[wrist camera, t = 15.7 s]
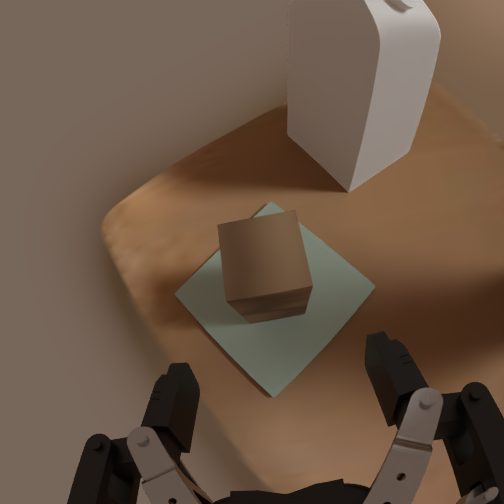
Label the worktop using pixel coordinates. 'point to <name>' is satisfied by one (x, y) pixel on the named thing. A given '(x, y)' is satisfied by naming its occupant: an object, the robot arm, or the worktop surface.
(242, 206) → the worktop surface
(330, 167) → the milk
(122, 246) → the worktop surface
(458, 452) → the robot arm
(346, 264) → the sage board
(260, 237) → the walnut block
